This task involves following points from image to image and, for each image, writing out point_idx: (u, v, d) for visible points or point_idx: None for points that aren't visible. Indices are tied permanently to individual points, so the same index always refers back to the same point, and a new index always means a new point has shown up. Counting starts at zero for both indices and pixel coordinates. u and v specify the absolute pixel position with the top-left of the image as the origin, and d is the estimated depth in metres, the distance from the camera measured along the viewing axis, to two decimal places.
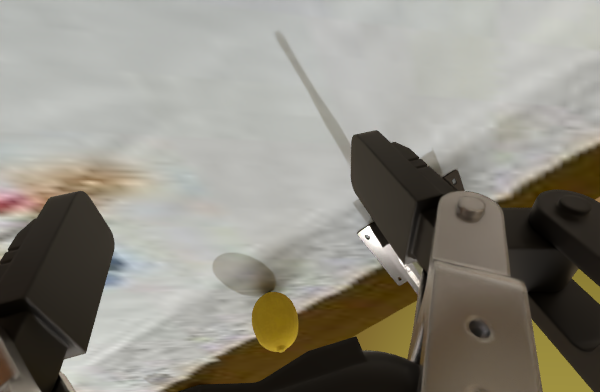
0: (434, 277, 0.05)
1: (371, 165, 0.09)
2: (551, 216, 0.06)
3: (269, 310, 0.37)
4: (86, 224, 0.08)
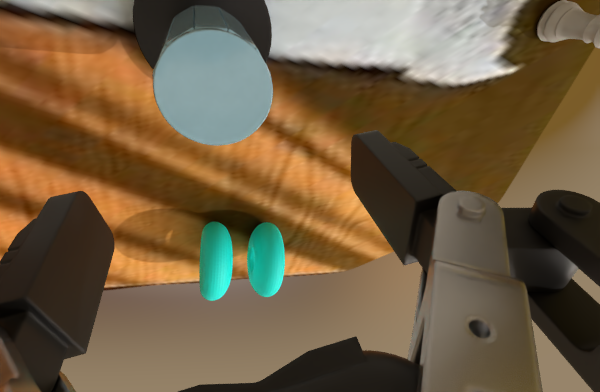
0: (434, 277, 0.05)
1: (371, 165, 0.09)
2: (551, 216, 0.06)
3: None
4: (86, 224, 0.08)
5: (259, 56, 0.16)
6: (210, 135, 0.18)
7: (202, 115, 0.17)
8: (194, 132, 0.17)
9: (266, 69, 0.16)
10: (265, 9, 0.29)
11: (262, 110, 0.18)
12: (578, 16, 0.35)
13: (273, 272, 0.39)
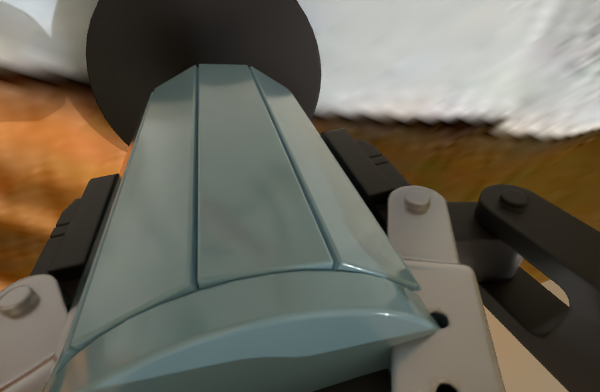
0: None
1: None
2: (492, 209, 0.06)
3: None
4: None
5: None
6: None
7: None
8: None
9: None
10: (314, 46, 0.17)
11: None
12: None
13: None
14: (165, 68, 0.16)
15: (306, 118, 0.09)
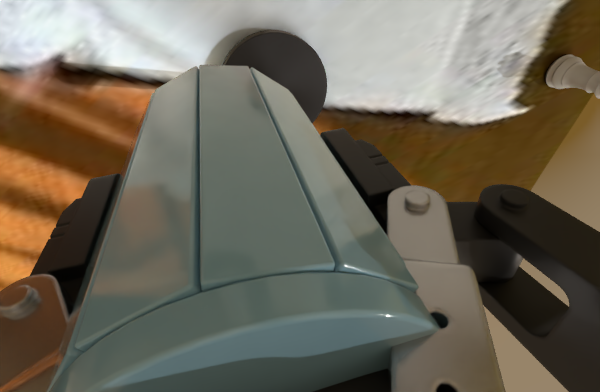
0: None
1: None
2: (492, 209, 0.06)
3: None
4: None
5: None
6: None
7: None
8: None
9: None
10: (323, 72, 0.35)
11: None
12: (581, 70, 0.41)
13: None
14: None
15: (307, 119, 0.09)
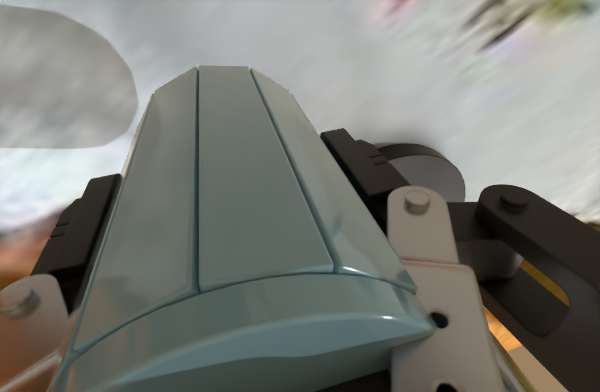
0: None
1: None
2: (491, 209, 0.06)
3: None
4: None
5: None
6: None
7: None
8: None
9: None
10: (463, 196, 0.23)
11: None
12: None
13: None
14: None
15: (306, 120, 0.09)
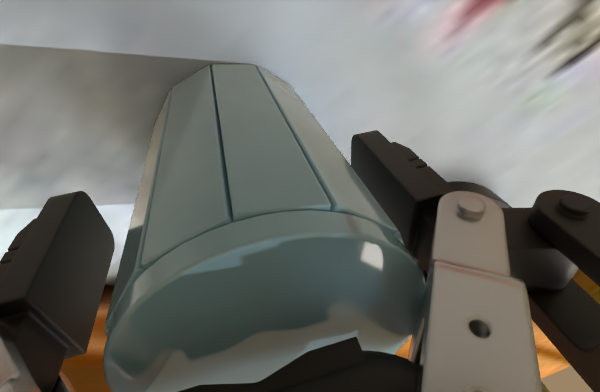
0: (434, 277, 0.05)
1: (371, 165, 0.09)
2: (551, 216, 0.06)
3: None
4: (86, 224, 0.08)
5: (414, 266, 0.05)
6: None
7: None
8: None
9: (422, 287, 0.06)
10: None
11: (387, 350, 0.07)
12: None
13: None
14: None
15: (307, 110, 0.10)
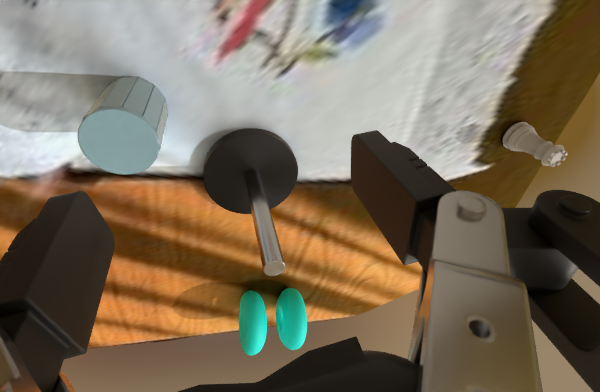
0: (434, 277, 0.05)
1: (371, 165, 0.09)
2: (551, 216, 0.06)
3: None
4: (86, 224, 0.08)
5: (143, 121, 0.26)
6: (121, 168, 0.28)
7: (113, 156, 0.27)
8: (110, 167, 0.27)
9: (149, 128, 0.26)
10: (293, 158, 0.40)
11: (153, 152, 0.28)
12: (531, 139, 0.46)
13: (299, 333, 0.50)
14: (232, 172, 0.39)
15: (149, 92, 0.31)
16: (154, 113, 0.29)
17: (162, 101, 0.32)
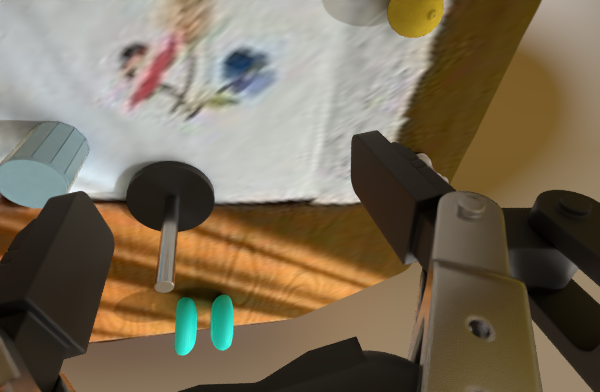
0: (434, 277, 0.05)
1: (371, 165, 0.09)
2: (551, 216, 0.06)
3: None
4: (86, 224, 0.08)
5: (50, 167, 0.32)
6: (35, 203, 0.34)
7: (27, 195, 0.33)
8: (25, 202, 0.33)
9: (56, 173, 0.32)
10: (208, 186, 0.46)
11: (62, 190, 0.33)
12: None
13: (224, 336, 0.56)
14: (153, 198, 0.45)
15: (66, 136, 0.36)
16: (66, 157, 0.34)
17: (80, 142, 0.38)
